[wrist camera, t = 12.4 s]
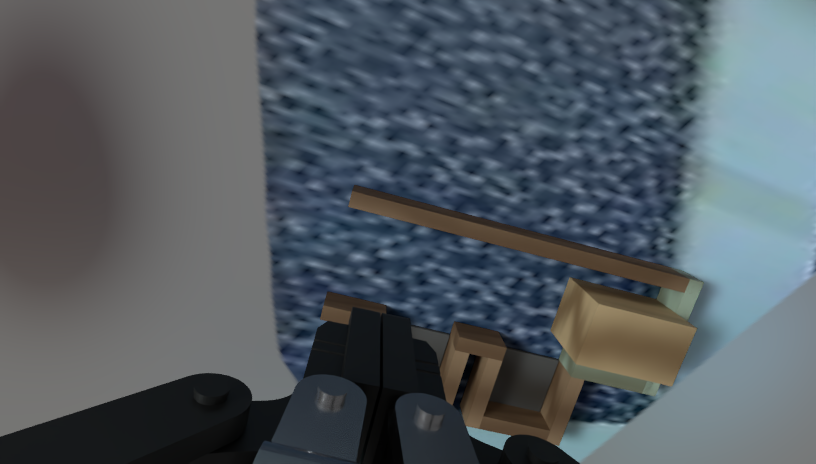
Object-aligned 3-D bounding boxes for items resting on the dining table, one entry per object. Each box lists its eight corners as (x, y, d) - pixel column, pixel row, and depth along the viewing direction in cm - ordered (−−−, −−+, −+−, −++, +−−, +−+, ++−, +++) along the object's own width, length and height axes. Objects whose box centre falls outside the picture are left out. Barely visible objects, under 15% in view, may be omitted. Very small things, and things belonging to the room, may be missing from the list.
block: (569, 276, 43) (599, 304, 37) (655, 298, 44) (697, 328, 38) (550, 329, 44) (575, 364, 38) (634, 350, 45) (671, 386, 39)
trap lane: (354, 184, 40) (352, 191, 37) (682, 270, 43) (703, 282, 40) (307, 372, 44) (302, 391, 41) (612, 438, 47) (627, 460, 44)
